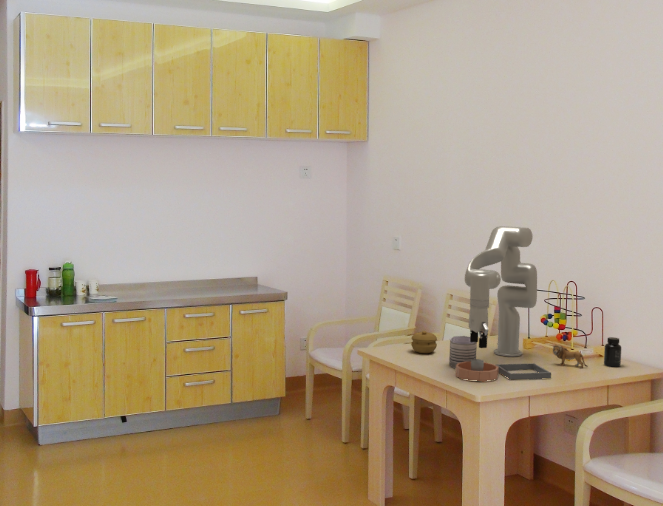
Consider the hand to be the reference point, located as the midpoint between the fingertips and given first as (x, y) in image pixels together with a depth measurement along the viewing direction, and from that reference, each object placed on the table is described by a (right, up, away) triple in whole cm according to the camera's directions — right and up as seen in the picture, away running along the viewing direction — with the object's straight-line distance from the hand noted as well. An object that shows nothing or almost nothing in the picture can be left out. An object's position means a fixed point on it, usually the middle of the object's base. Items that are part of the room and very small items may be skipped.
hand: (478, 344), depth 302 cm
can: (-3, -12, +17) cm, 21 cm away
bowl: (0, -13, +1) cm, 13 cm away
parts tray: (+19, -13, +5) cm, 24 cm away
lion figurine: (+43, -12, +21) cm, 49 cm away
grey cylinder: (0, -12, +1) cm, 12 cm away
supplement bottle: (+63, -12, +23) cm, 68 cm away
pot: (-17, -9, +42) cm, 47 cm away
